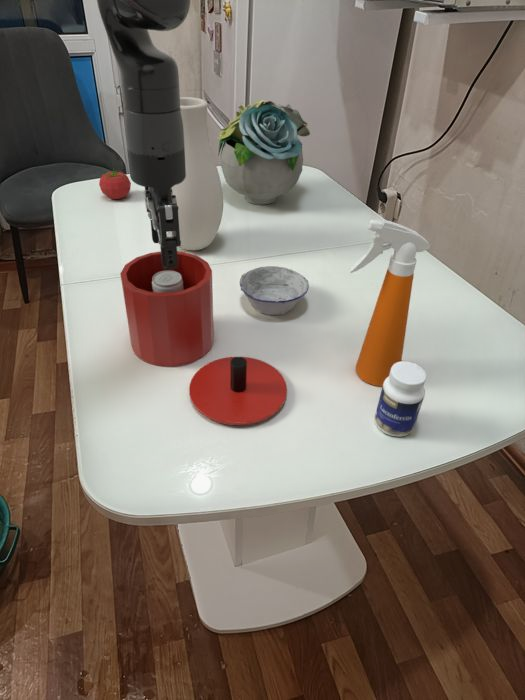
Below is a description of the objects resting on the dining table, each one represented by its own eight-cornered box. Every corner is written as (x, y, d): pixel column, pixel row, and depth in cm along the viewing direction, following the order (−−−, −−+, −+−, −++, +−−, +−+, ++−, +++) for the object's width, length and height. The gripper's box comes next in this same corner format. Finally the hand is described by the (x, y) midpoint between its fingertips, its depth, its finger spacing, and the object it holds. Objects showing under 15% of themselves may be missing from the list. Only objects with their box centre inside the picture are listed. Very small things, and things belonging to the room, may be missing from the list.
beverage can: (152, 342, 86) (145, 281, 79) (167, 327, 90) (161, 267, 82) (177, 350, 85) (172, 288, 77) (191, 334, 88) (188, 274, 81)
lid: (260, 442, 70) (261, 411, 67) (170, 406, 75) (167, 375, 71) (301, 379, 81) (304, 349, 77) (220, 351, 86) (219, 321, 82)
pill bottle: (370, 431, 73) (383, 379, 67) (378, 405, 77) (391, 354, 71) (410, 443, 71) (427, 391, 65) (416, 416, 76) (433, 364, 69)
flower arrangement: (319, 193, 143) (329, 98, 128) (283, 226, 125) (291, 120, 110) (240, 176, 151) (241, 85, 136) (196, 205, 133) (192, 104, 118)
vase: (151, 242, 116) (135, 98, 97) (200, 226, 123) (194, 90, 105) (185, 266, 108) (175, 114, 89) (236, 247, 115) (236, 104, 97)
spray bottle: (329, 359, 85) (352, 209, 69) (392, 358, 86) (429, 209, 70) (337, 388, 80) (364, 232, 63) (404, 386, 81) (448, 232, 64)
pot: (184, 376, 80) (179, 305, 72) (114, 350, 85) (101, 280, 77) (227, 331, 90) (227, 263, 82) (162, 310, 95) (156, 243, 86)
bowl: (268, 331, 91) (269, 308, 88) (225, 299, 98) (225, 277, 95) (320, 307, 97) (323, 285, 94) (276, 279, 105) (278, 258, 102)
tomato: (119, 205, 131) (115, 176, 126) (95, 199, 134) (90, 170, 129) (138, 195, 137) (134, 166, 132) (114, 189, 139) (110, 161, 135)
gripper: (120, 130, 72) (133, 236, 82) (134, 163, 61) (147, 281, 71) (173, 127, 74) (179, 232, 84) (195, 159, 63) (200, 274, 73)
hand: (164, 254), depth 77 cm, fingers open, 8 cm apart
